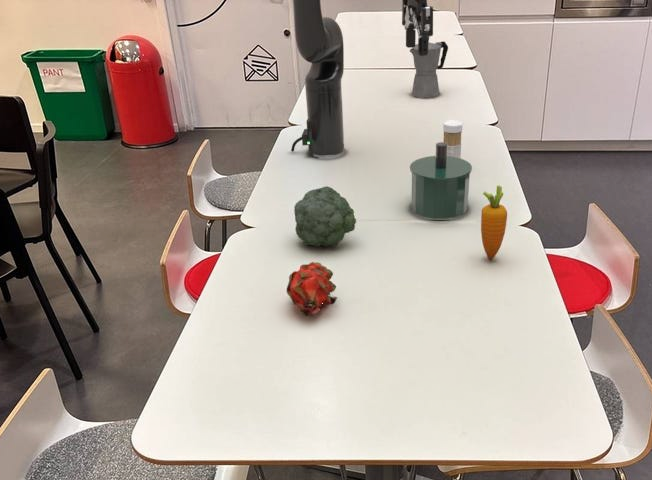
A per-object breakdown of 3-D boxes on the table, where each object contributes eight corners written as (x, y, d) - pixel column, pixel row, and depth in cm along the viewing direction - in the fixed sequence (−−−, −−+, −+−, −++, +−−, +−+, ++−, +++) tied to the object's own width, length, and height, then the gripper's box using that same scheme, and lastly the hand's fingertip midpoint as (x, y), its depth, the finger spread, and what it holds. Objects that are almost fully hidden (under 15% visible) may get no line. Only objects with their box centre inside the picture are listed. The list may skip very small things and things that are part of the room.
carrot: (487, 267, 138) (493, 195, 129) (473, 257, 141) (477, 186, 132) (508, 261, 139) (515, 189, 131) (493, 251, 143) (499, 181, 134)
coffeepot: (418, 101, 229) (419, 41, 218) (401, 94, 235) (401, 36, 224) (454, 93, 236) (457, 35, 225) (437, 87, 242) (438, 30, 232)
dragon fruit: (319, 294, 133) (316, 337, 125) (280, 274, 130) (274, 316, 121) (344, 264, 128) (343, 307, 120) (304, 242, 125) (299, 284, 116)
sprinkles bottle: (455, 171, 179) (457, 118, 171) (462, 178, 175) (465, 123, 167) (438, 174, 177) (440, 120, 169) (446, 180, 174) (448, 126, 166)
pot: (410, 220, 156) (411, 179, 150) (412, 197, 166) (412, 158, 160) (468, 221, 155) (470, 180, 149) (465, 198, 165) (468, 158, 159)
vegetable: (376, 221, 150) (353, 218, 136) (335, 261, 155) (309, 262, 140) (340, 178, 151) (313, 171, 137) (300, 220, 155) (270, 217, 141)
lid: (409, 183, 150) (409, 154, 146) (410, 160, 161) (410, 133, 157) (473, 183, 149) (474, 155, 146) (470, 160, 160) (471, 133, 157)
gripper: (391, -31, 160) (391, 46, 170) (412, -22, 149) (411, 59, 159) (422, -33, 162) (421, 43, 171) (445, -24, 151) (442, 56, 160)
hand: (416, 51), depth 165 cm, fingers open, 8 cm apart
